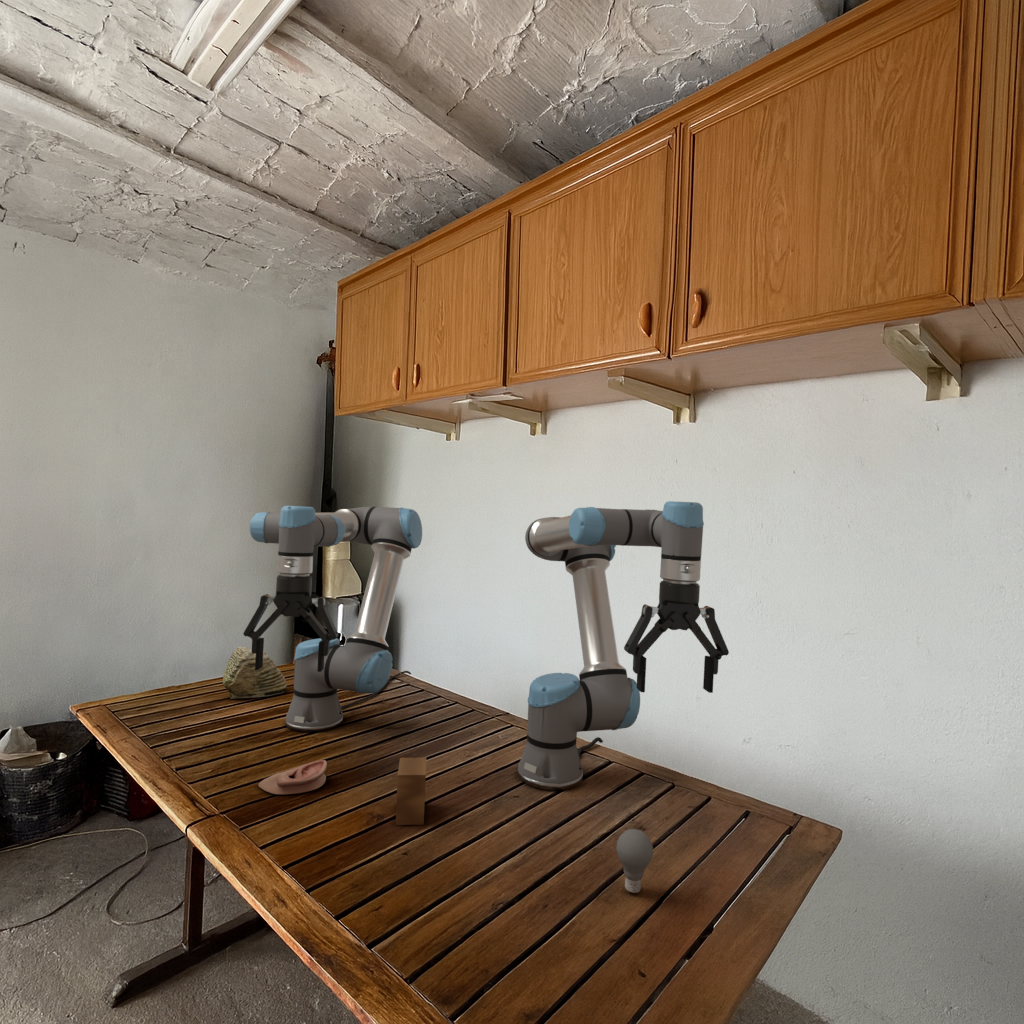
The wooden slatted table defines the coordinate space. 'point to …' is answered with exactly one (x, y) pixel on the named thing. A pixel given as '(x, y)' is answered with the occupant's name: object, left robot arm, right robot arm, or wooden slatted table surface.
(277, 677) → the fossil
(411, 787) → the brick
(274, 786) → the anatomical model
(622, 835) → the light bulb
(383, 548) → the left robot arm
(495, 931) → the wooden slatted table surface
